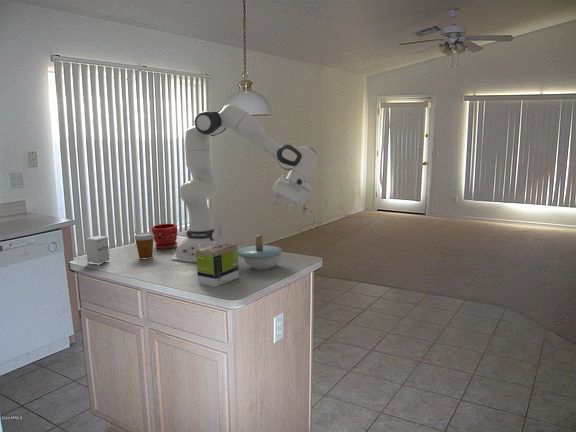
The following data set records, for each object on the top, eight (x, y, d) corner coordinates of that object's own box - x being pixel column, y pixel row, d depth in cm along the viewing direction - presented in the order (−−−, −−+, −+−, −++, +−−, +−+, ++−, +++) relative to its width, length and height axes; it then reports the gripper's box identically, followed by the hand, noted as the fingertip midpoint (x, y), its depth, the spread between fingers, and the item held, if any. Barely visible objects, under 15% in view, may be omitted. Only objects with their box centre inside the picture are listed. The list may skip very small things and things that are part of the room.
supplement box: (98, 265, 232) (95, 239, 230) (87, 264, 236) (84, 238, 233) (110, 261, 239) (108, 236, 237) (99, 260, 242) (97, 235, 240)
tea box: (222, 274, 213) (220, 241, 211) (239, 278, 208) (238, 244, 205) (197, 283, 201) (195, 248, 199) (215, 287, 196) (213, 251, 193)
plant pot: (159, 244, 274) (158, 223, 271) (182, 244, 271) (180, 223, 269) (148, 249, 261) (147, 227, 259) (171, 250, 258) (170, 228, 256)
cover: (231, 257, 214) (230, 240, 212) (244, 246, 233) (243, 230, 232) (276, 259, 210) (276, 240, 209) (285, 247, 229) (285, 231, 228)
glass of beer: (158, 255, 249) (157, 232, 246) (150, 260, 239) (148, 236, 237) (141, 255, 250) (139, 232, 248) (132, 260, 241) (130, 236, 239)
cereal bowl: (274, 260, 234) (273, 246, 233) (286, 269, 219) (286, 254, 217) (239, 265, 228) (239, 250, 226) (250, 274, 212) (249, 258, 211)
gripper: (277, 171, 229) (263, 197, 228) (306, 183, 214) (290, 211, 214) (285, 177, 233) (271, 202, 233) (314, 189, 219) (299, 216, 218)
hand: (281, 207), depth 223 cm, fingers open, 8 cm apart
